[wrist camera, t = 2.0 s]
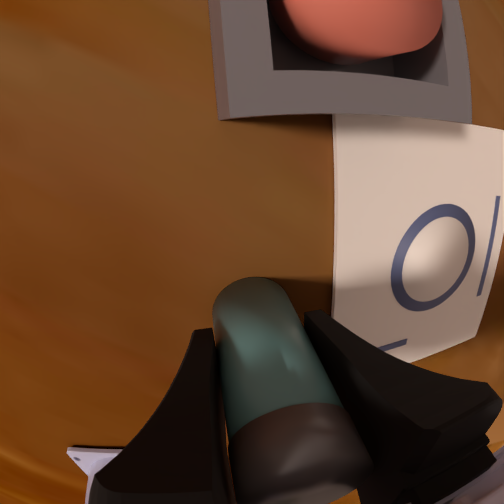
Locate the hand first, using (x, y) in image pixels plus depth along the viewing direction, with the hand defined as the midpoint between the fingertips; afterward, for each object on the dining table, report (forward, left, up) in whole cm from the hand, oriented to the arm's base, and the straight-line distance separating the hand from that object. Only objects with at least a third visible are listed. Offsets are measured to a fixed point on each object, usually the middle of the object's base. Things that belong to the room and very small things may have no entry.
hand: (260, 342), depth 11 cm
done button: (+11, -3, 0) cm, 11 cm away
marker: (0, 0, -2) cm, 2 cm away
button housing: (+11, -3, -2) cm, 12 cm away
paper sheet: (+1, -9, -2) cm, 9 cm away
